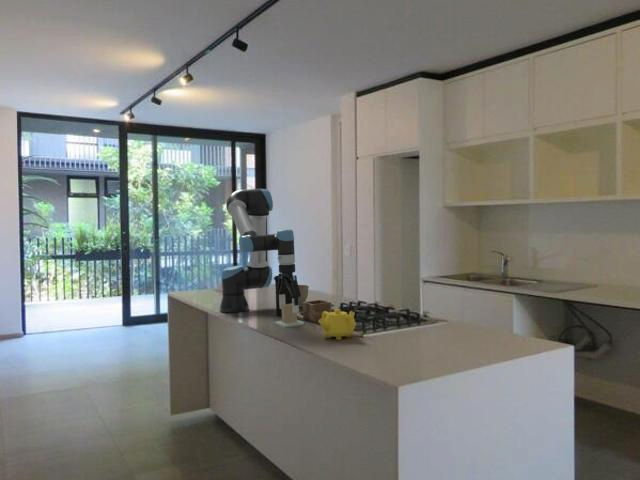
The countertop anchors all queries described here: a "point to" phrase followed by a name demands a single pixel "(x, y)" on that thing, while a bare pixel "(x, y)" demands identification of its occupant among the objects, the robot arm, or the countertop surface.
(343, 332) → the yellow rounded knobbed block
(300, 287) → the planter bowl
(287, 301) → the container
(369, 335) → the countertop surface
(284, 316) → the beige block on base
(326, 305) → the crate
